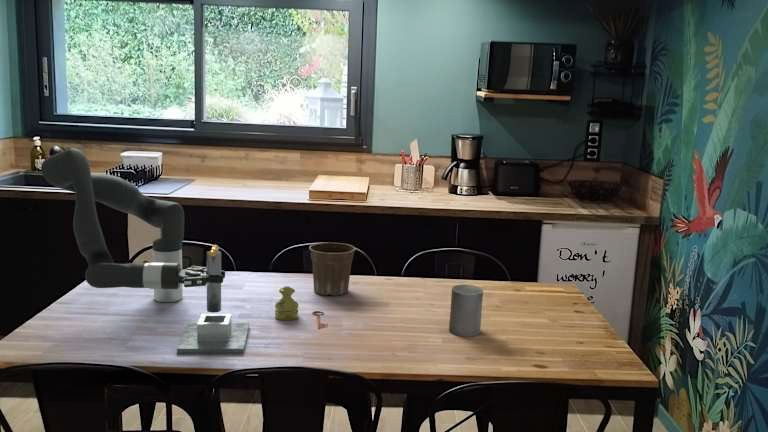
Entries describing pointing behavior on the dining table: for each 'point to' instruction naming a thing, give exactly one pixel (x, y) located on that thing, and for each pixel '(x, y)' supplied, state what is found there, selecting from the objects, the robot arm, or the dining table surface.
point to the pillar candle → (466, 310)
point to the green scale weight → (286, 305)
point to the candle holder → (214, 336)
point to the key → (319, 319)
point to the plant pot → (331, 267)
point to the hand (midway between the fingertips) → (223, 276)
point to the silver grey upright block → (214, 288)
